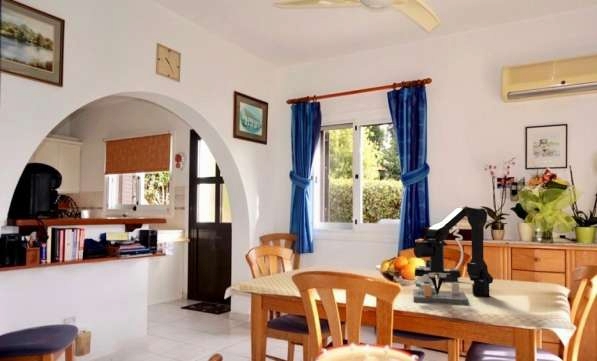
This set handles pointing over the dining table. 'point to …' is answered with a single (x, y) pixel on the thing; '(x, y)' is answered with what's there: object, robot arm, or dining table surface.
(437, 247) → the robot arm
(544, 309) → the dining table surface
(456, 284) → the paddle
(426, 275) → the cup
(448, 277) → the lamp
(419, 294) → the panel
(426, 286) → the paddle
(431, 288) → the rocker
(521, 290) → the dining table surface
